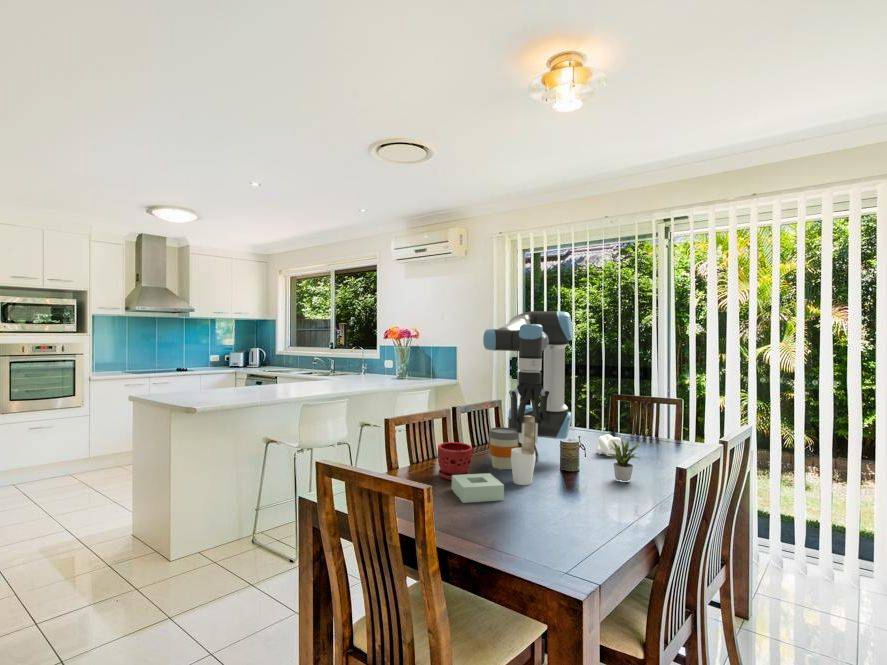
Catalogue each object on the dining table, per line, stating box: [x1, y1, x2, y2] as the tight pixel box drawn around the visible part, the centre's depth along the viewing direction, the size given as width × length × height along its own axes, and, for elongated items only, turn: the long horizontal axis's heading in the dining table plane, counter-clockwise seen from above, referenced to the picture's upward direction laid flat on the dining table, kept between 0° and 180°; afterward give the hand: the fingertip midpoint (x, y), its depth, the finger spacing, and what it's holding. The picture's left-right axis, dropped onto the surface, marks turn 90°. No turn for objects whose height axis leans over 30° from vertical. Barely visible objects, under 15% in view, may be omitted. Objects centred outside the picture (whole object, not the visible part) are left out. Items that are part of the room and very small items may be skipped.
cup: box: [511, 448, 536, 486], centre depth 190 cm, size 9×9×12 cm
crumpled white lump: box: [595, 433, 622, 457], centre depth 236 cm, size 11×12×9 cm
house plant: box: [606, 438, 642, 481], centre depth 194 cm, size 14×14×16 cm
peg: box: [522, 416, 535, 455], centre depth 168 cm, size 4×4×12 cm
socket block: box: [451, 472, 505, 504], centre depth 175 cm, size 14×14×5 cm
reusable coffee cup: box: [488, 426, 519, 470], centre depth 211 cm, size 13×13×15 cm
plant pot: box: [437, 441, 473, 481], centre depth 194 cm, size 13×13×12 cm
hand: (527, 442), depth 168 cm, fingers closed on peg, 4 cm apart
